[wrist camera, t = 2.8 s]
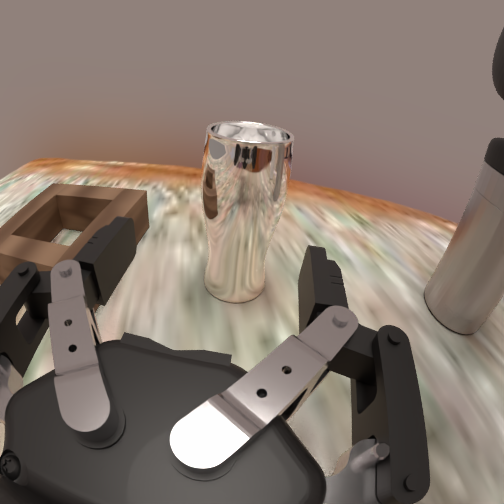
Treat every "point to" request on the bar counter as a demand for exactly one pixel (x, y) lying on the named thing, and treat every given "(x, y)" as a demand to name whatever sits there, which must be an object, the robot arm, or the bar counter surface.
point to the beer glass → (242, 203)
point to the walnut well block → (66, 223)
